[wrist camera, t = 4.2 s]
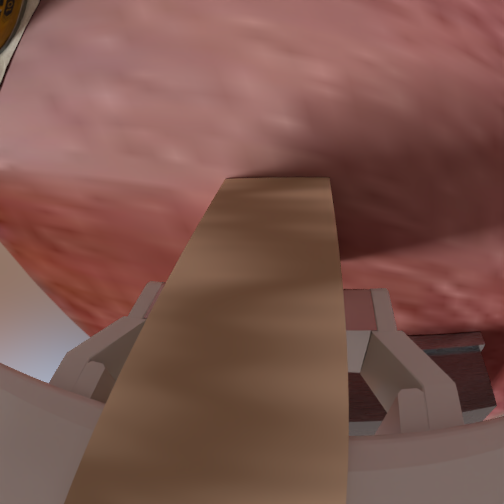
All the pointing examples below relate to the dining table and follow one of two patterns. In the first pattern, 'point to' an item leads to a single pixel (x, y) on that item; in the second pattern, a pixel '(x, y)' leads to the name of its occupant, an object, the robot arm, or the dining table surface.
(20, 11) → the condiment
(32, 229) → the dining table surface
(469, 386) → the socket holder
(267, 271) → the wooden peg
